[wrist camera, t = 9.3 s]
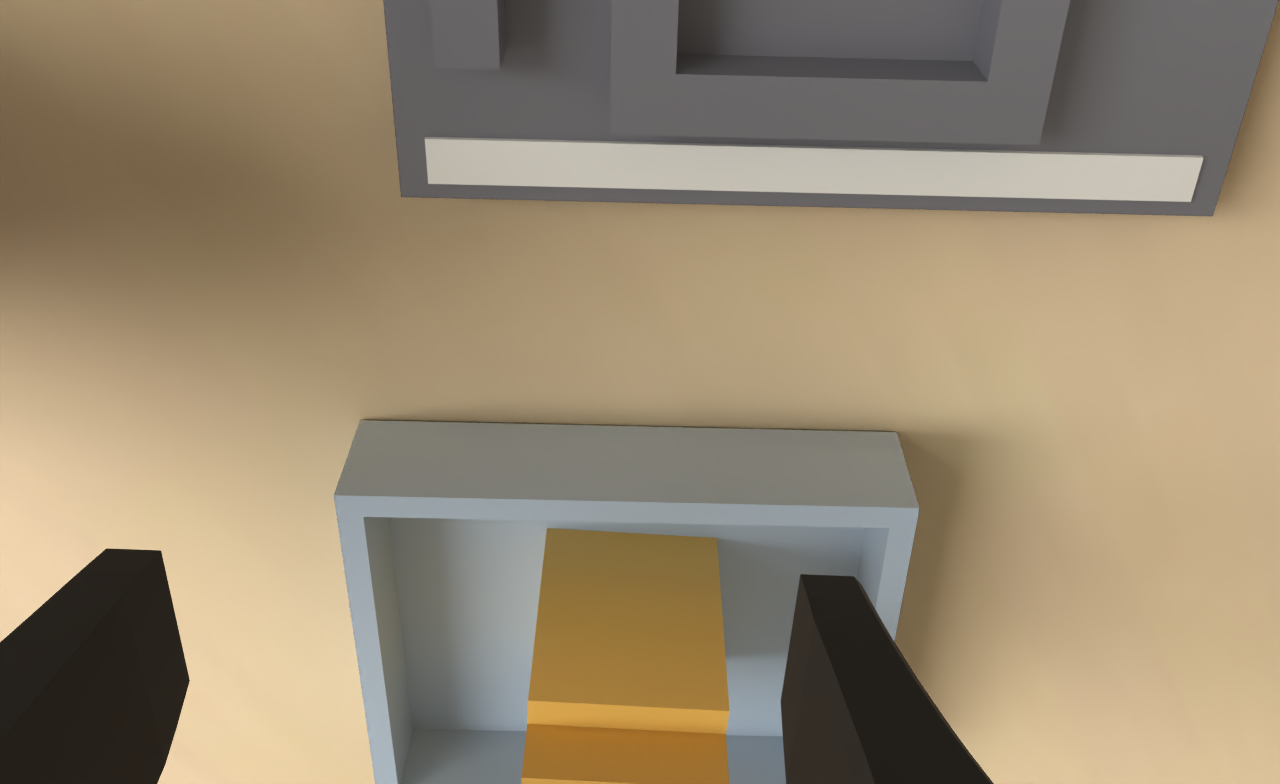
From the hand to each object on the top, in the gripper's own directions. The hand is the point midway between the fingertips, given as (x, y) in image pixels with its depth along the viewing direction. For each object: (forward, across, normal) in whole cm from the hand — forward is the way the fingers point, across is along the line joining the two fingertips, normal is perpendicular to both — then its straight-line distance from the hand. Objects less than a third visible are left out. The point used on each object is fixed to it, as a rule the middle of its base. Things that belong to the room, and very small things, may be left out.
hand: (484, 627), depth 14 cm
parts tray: (+10, -2, +9) cm, 14 cm away
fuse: (+10, -2, +8) cm, 13 cm away
